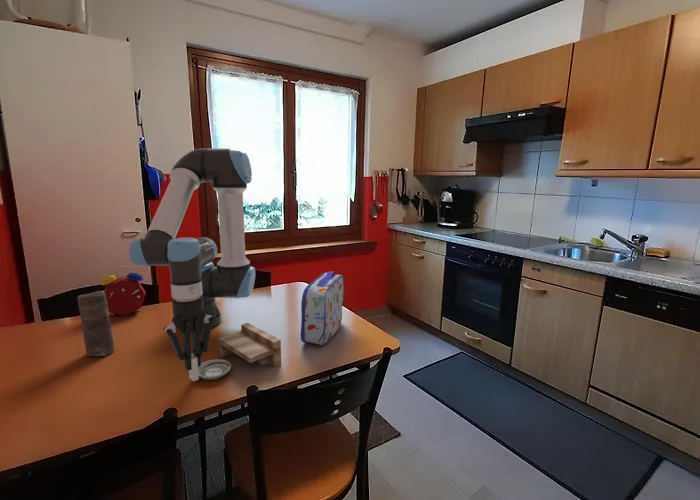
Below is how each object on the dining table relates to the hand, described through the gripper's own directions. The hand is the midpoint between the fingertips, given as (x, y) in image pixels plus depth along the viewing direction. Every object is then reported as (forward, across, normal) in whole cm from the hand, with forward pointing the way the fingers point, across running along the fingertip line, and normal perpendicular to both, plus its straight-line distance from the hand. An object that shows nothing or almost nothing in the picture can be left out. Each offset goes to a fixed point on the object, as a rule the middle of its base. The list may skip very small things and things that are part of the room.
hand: (194, 378), depth 101 cm
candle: (+1, -14, +37) cm, 39 cm away
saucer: (+2, +6, 0) cm, 6 cm away
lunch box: (+1, +47, -2) cm, 47 cm away
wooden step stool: (+1, +17, 0) cm, 17 cm away
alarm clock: (+1, +2, +67) cm, 67 cm away
